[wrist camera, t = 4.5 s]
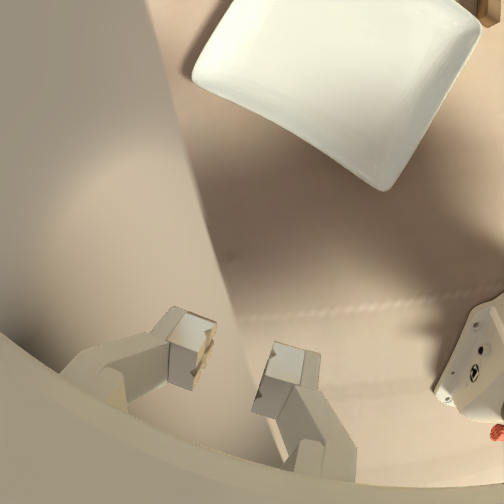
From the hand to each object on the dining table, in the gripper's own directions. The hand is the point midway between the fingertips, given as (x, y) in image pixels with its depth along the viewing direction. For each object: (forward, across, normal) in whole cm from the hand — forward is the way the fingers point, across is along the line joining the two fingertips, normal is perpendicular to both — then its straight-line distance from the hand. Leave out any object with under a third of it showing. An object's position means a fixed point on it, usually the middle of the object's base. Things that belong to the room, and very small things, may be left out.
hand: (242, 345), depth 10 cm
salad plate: (+24, 0, +15) cm, 28 cm away
